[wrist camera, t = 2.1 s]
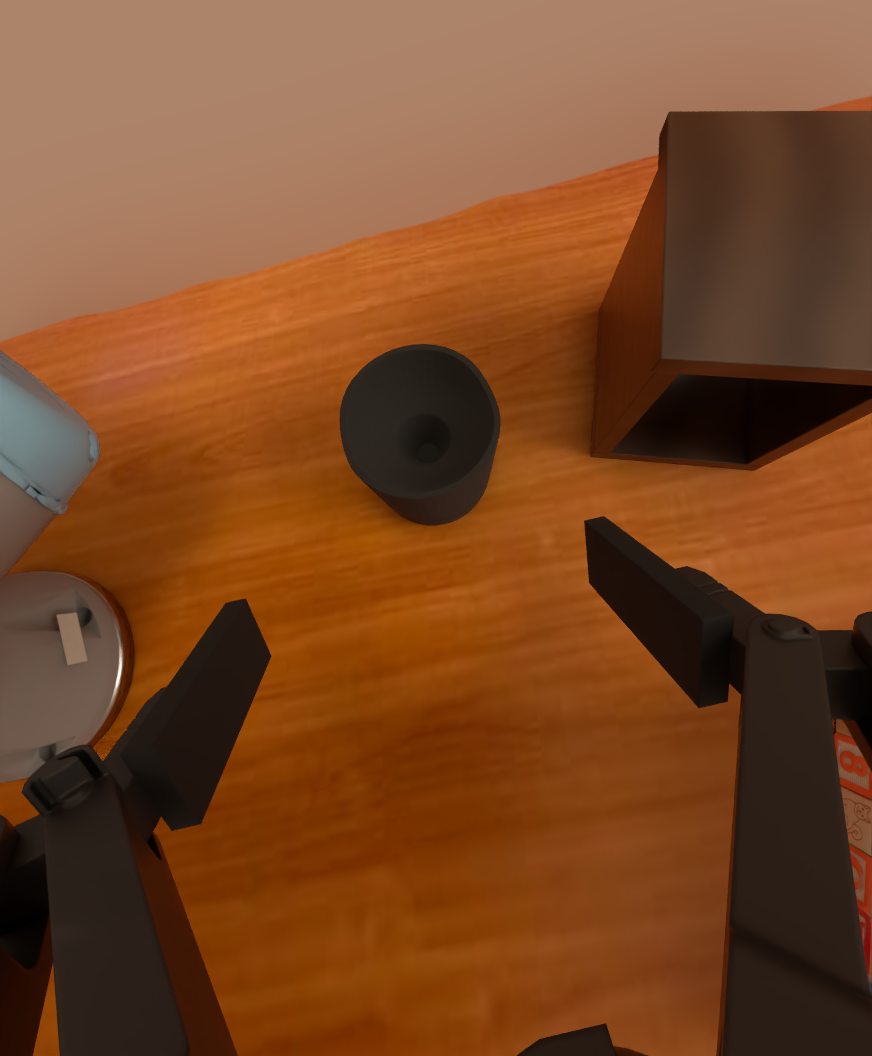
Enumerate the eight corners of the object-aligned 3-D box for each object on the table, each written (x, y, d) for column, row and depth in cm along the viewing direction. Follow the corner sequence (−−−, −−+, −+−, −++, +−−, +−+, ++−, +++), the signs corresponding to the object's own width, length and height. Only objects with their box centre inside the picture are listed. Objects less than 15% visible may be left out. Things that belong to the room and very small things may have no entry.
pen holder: (511, 441, 34) (525, 373, 24) (466, 549, 32) (462, 524, 23) (404, 403, 35) (377, 324, 25) (357, 505, 34) (310, 463, 24)
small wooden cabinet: (583, 462, 33) (660, 358, 19) (593, 303, 35) (668, 110, 22) (762, 477, 31) (984, 377, 18) (760, 310, 34) (953, 109, 20)
